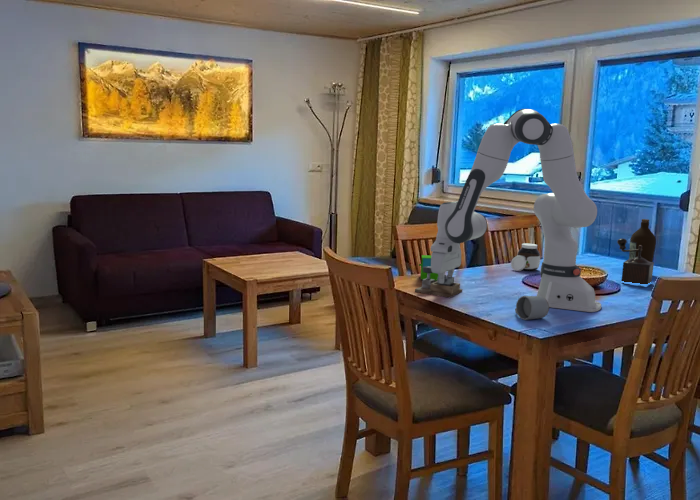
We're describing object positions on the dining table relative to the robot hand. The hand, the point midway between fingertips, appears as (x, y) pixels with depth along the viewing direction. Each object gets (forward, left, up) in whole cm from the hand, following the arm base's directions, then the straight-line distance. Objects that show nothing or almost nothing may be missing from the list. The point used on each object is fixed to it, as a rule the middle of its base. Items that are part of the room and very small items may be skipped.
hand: (445, 281), depth 238 cm
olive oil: (-54, -94, -4) cm, 109 cm away
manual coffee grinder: (-54, -70, -4) cm, 89 cm away
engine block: (0, 0, -3) cm, 3 cm away
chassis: (+3, 0, -4) cm, 5 cm away
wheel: (+7, 0, 0) cm, 7 cm away
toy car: (+15, -19, -5) cm, 24 cm away
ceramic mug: (-35, +14, -5) cm, 38 cm away
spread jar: (-10, -66, -5) cm, 67 cm away
